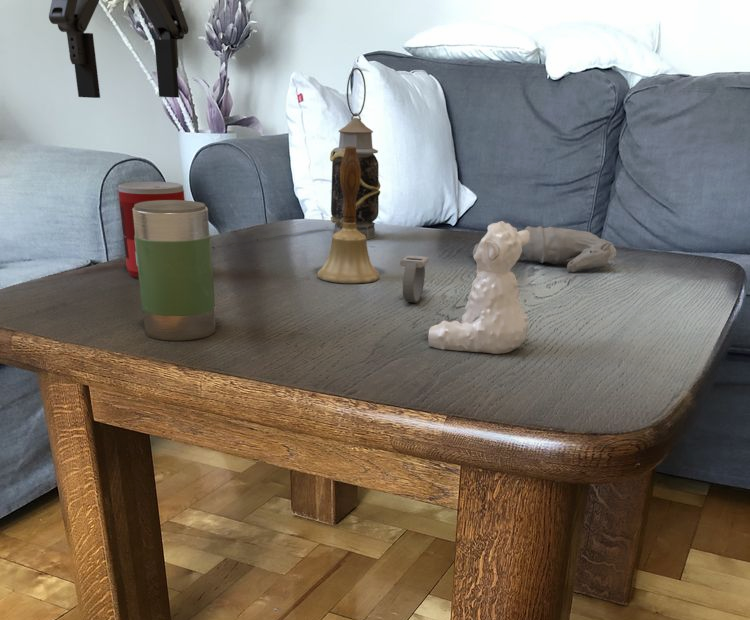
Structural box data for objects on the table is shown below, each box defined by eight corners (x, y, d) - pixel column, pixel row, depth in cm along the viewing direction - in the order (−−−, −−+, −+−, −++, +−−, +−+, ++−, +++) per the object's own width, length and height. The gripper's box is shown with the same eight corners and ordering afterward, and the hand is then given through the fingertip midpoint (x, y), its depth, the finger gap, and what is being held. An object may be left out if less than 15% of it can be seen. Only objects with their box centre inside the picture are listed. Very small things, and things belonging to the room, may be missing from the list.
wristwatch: (407, 294, 100) (409, 252, 98) (429, 296, 100) (431, 254, 98) (395, 306, 95) (396, 262, 93) (418, 308, 94) (420, 264, 92)
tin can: (129, 331, 83) (115, 204, 77) (184, 318, 88) (174, 197, 82) (176, 345, 79) (164, 212, 73) (231, 330, 84) (224, 205, 79)
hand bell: (391, 276, 109) (396, 147, 102) (354, 287, 103) (356, 150, 96) (343, 268, 114) (343, 143, 106) (304, 277, 108) (302, 145, 100)
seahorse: (479, 264, 113) (624, 245, 112) (467, 222, 120) (603, 204, 120) (479, 296, 116) (620, 278, 116) (468, 253, 124) (600, 236, 124)
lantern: (344, 230, 141) (345, 67, 130) (387, 235, 139) (392, 68, 127) (321, 238, 134) (321, 66, 123) (366, 243, 131) (370, 67, 120)
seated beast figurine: (475, 328, 87) (485, 210, 82) (547, 344, 83) (562, 220, 77) (422, 346, 81) (429, 219, 75) (497, 365, 76) (510, 231, 71)
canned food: (199, 276, 106) (193, 186, 101) (139, 282, 102) (130, 189, 97) (176, 265, 112) (169, 180, 107) (119, 271, 108) (109, 182, 103)
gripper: (43, -145, 79) (74, 98, 89) (209, -98, 99) (219, 98, 109) (-9, -138, 82) (27, 96, 92) (161, -94, 102) (176, 96, 112)
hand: (131, 97), depth 100 cm, fingers open, 13 cm apart
